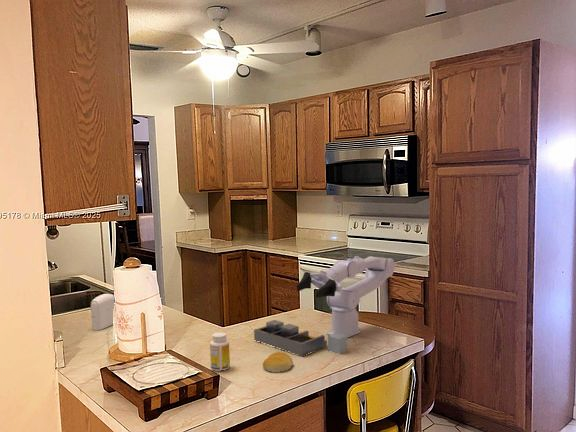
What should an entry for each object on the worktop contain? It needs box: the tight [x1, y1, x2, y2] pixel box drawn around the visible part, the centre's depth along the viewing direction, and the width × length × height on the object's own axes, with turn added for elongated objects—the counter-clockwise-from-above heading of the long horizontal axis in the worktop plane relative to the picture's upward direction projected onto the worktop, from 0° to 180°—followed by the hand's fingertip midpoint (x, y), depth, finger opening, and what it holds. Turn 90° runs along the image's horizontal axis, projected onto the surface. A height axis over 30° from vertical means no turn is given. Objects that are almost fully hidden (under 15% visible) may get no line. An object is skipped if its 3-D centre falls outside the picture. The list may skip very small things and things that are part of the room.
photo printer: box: [90, 293, 115, 331], centre depth 190 cm, size 10×4×12 cm, turn 160°
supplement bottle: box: [209, 332, 231, 372], centre depth 147 cm, size 6×6×10 cm
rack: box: [253, 319, 328, 357], centre depth 167 cm, size 12×22×6 cm, turn 46°
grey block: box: [327, 333, 348, 355], centre depth 159 cm, size 4×4×5 cm
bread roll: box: [262, 351, 294, 373], centre depth 147 cm, size 8×9×4 cm
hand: (307, 291), depth 159 cm, fingers open, 7 cm apart
